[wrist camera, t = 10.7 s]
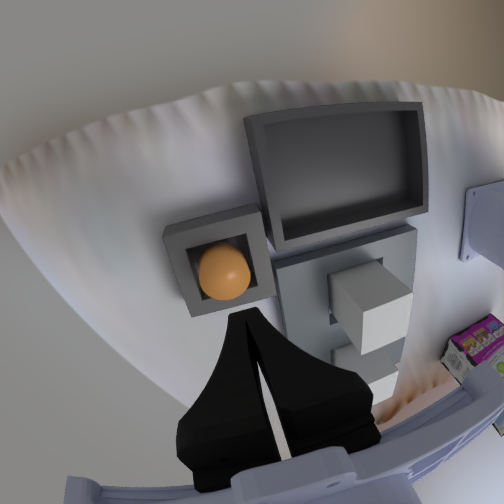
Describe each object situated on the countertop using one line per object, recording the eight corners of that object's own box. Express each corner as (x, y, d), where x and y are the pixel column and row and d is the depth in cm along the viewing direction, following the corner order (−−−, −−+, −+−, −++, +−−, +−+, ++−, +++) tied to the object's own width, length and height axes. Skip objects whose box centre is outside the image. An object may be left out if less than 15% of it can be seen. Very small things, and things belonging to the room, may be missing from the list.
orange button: (239, 236, 18) (244, 249, 16) (249, 277, 19) (254, 292, 17) (193, 248, 18) (192, 262, 16) (206, 288, 19) (207, 305, 17)
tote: (400, 102, 17) (422, 102, 15) (408, 202, 21) (428, 211, 18) (243, 118, 16) (249, 115, 14) (267, 237, 20) (276, 252, 18)
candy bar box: (438, 362, 32) (499, 439, 17) (448, 337, 30) (520, 417, 15) (482, 336, 33) (540, 396, 19) (492, 312, 31) (557, 372, 16)
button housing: (254, 203, 19) (260, 211, 17) (270, 281, 21) (276, 295, 19) (165, 226, 18) (162, 237, 16) (191, 301, 21) (191, 317, 19)
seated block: (367, 329, 26) (398, 370, 20) (365, 356, 27) (392, 396, 22) (330, 343, 25) (357, 388, 20) (331, 369, 27) (354, 412, 22)
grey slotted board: (408, 224, 22) (417, 229, 20) (394, 355, 28) (399, 361, 27) (272, 262, 21) (276, 269, 20) (295, 393, 27) (298, 401, 26)
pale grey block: (369, 255, 22) (413, 292, 17) (369, 295, 24) (406, 335, 18) (326, 268, 22) (363, 312, 16) (329, 309, 23) (361, 355, 18)
